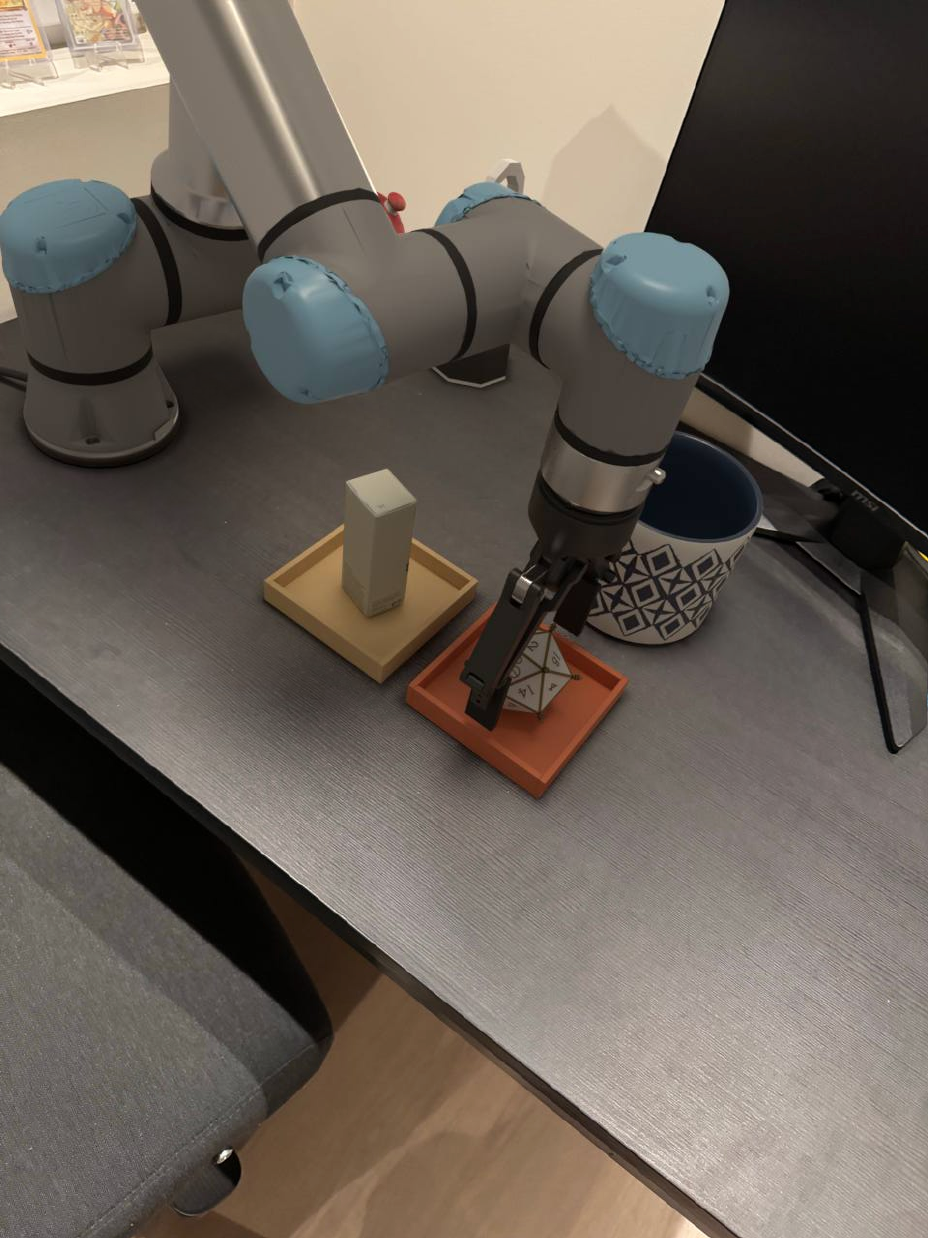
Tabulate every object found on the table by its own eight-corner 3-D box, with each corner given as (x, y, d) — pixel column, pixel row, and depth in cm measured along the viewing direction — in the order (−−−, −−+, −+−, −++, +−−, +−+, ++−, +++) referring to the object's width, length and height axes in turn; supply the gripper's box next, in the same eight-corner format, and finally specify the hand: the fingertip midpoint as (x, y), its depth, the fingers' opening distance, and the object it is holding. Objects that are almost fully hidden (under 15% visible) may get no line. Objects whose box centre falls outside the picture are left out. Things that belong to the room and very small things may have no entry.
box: (405, 604, 80) (421, 502, 70) (365, 620, 78) (376, 518, 68) (376, 567, 82) (388, 465, 73) (337, 583, 80) (343, 479, 71)
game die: (521, 735, 77) (569, 744, 67) (442, 693, 75) (479, 697, 65) (561, 647, 79) (613, 644, 69) (484, 604, 76) (527, 595, 67)
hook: (486, 398, 105) (529, 193, 86) (410, 365, 107) (436, 157, 88) (523, 359, 112) (571, 162, 93) (451, 328, 114) (484, 129, 96)
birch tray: (264, 599, 78) (263, 580, 76) (364, 525, 87) (366, 507, 85) (380, 684, 74) (383, 666, 72) (474, 598, 83) (478, 580, 81)
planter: (545, 530, 91) (579, 420, 80) (683, 537, 94) (734, 432, 83) (570, 645, 81) (613, 538, 70) (724, 650, 83) (788, 547, 73)
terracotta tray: (404, 702, 73) (408, 684, 71) (497, 613, 82) (502, 596, 80) (538, 799, 69) (545, 783, 67) (621, 696, 78) (629, 679, 76)
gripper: (539, 611, 48) (476, 793, 64) (719, 430, 63) (631, 615, 79) (436, 544, 50) (400, 736, 66) (633, 384, 65) (565, 573, 81)
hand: (525, 671), depth 72 cm, fingers open, 13 cm apart
